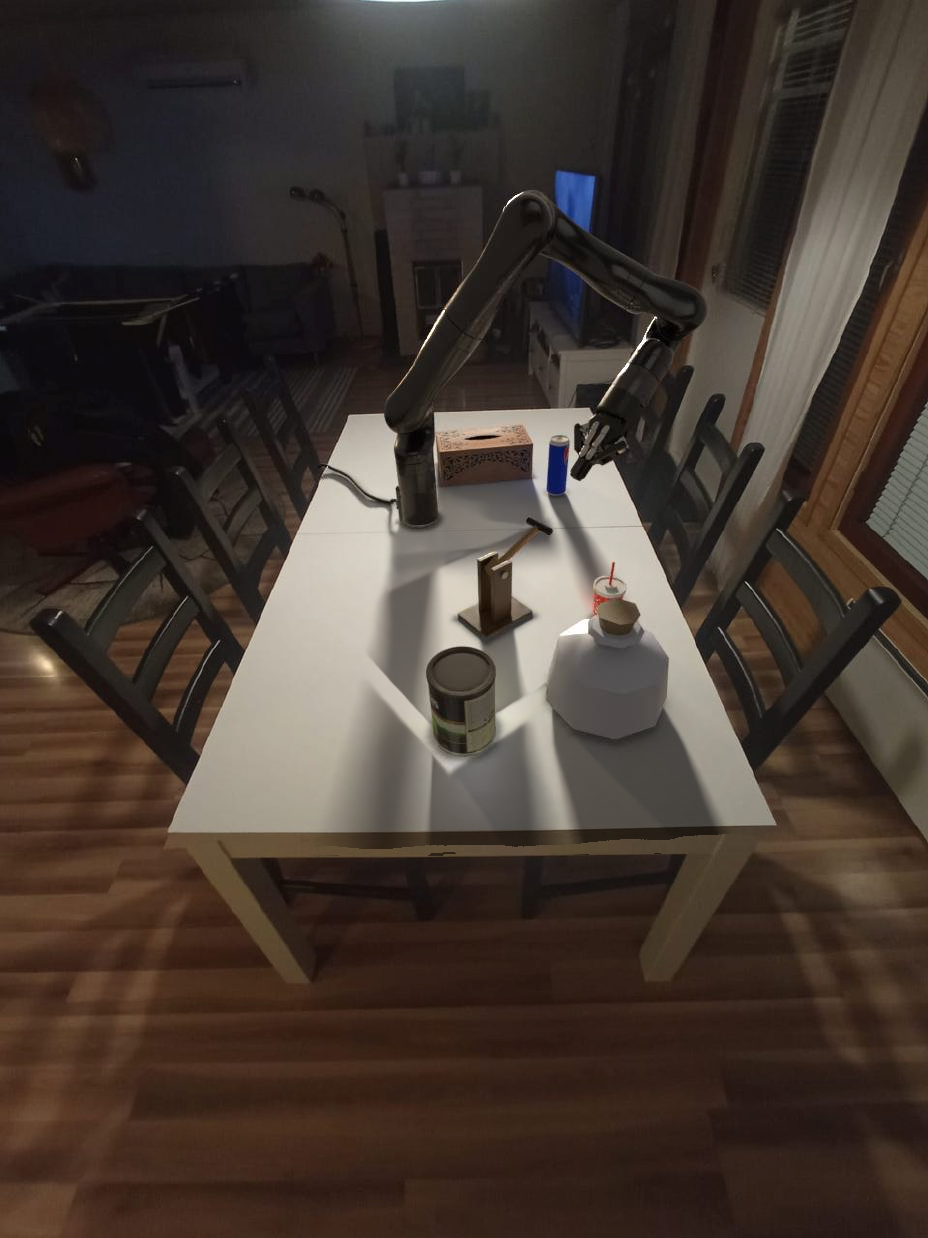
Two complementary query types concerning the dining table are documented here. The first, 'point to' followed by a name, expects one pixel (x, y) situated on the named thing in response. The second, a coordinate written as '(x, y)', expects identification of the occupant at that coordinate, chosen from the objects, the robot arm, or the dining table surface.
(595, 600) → the beverage cup
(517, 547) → the wooden lever handle
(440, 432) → the tissue box cover
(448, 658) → the coffee can
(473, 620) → the lever base
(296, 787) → the dining table surface
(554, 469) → the beverage can
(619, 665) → the bottle
